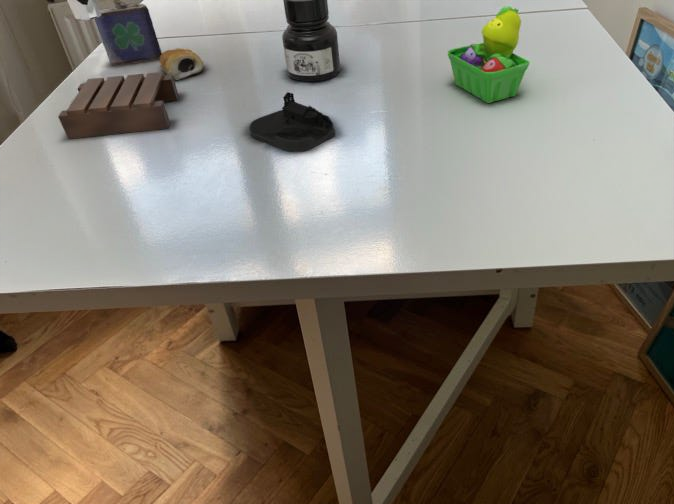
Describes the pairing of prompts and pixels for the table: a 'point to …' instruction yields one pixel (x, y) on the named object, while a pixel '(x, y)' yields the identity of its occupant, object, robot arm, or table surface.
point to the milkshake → (85, 10)
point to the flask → (128, 34)
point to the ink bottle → (310, 41)
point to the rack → (120, 105)
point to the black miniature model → (293, 127)
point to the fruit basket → (491, 60)
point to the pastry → (180, 63)
